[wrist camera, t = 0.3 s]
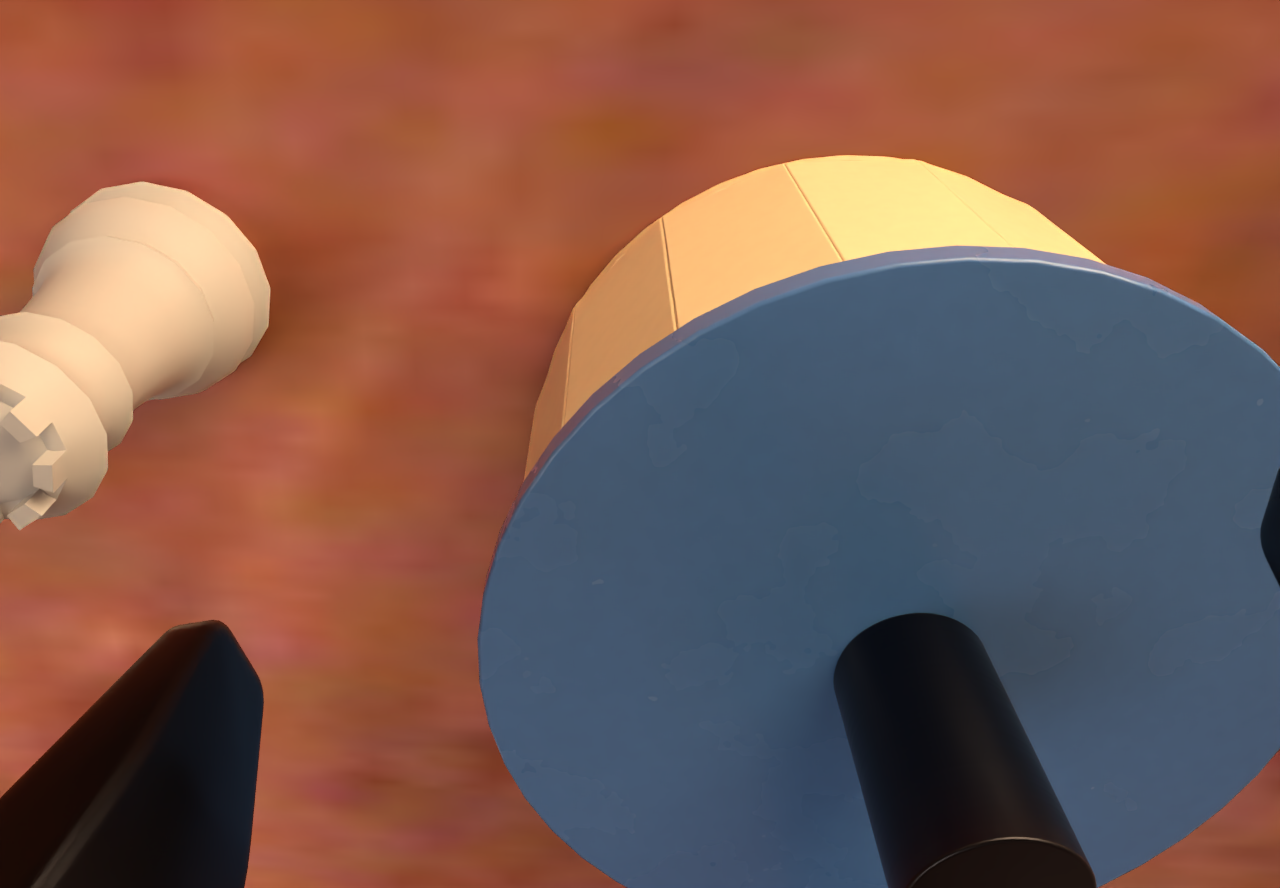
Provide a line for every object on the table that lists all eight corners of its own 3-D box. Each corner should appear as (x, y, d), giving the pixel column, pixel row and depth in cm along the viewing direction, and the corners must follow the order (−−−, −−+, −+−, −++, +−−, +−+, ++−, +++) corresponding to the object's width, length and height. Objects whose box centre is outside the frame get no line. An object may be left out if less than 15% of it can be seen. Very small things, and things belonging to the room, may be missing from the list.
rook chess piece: (250, 399, 23) (93, 621, 16) (50, 328, 22) (-208, 529, 15) (301, 227, 21) (149, 394, 14) (84, 139, 20) (-194, 272, 13)
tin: (1054, 651, 27) (1191, 890, 21) (557, 667, 27) (539, 912, 21) (1171, 145, 21) (1425, 264, 14) (516, 163, 21) (471, 292, 14)
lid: (1195, 880, 22) (1367, 1177, 17) (519, 903, 22) (491, 1208, 17) (1442, 217, 15) (1870, 388, 10) (438, 245, 14) (345, 433, 10)
